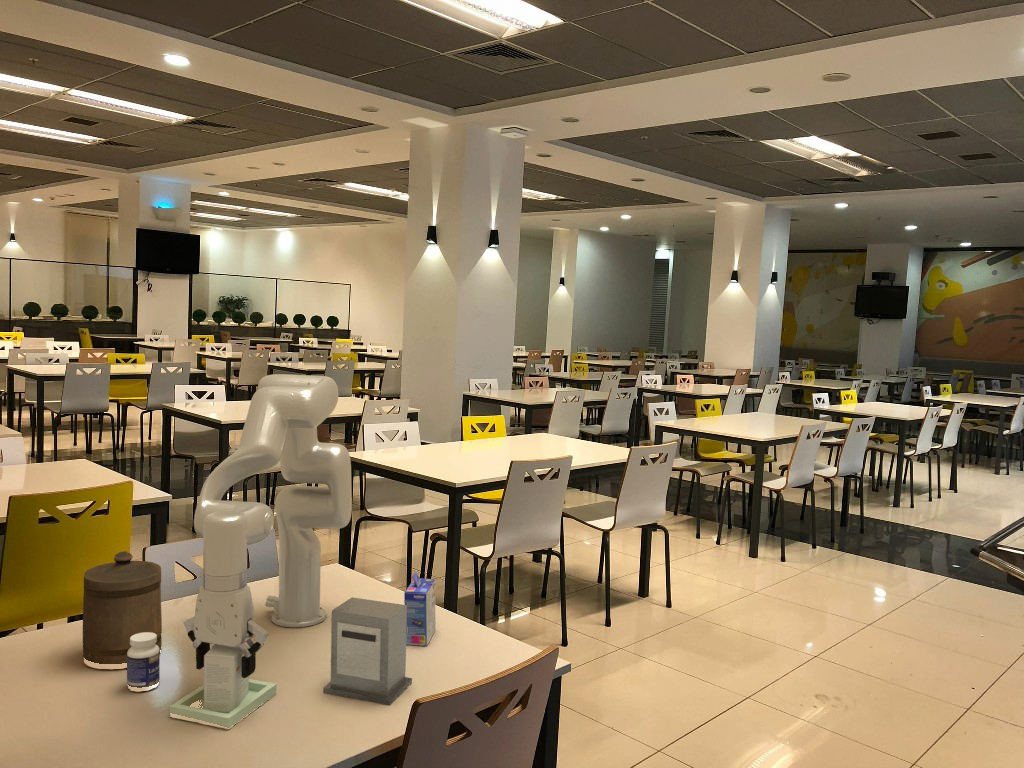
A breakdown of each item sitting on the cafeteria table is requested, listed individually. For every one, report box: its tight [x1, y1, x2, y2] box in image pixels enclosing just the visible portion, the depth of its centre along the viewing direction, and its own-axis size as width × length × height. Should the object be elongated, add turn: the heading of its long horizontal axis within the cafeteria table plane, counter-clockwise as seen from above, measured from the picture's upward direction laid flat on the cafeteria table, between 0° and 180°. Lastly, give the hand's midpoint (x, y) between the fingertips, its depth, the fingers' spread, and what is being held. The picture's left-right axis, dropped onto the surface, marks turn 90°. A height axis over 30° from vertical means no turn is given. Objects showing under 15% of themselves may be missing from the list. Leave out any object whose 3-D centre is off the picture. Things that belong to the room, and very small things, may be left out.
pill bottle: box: [126, 632, 161, 688], centre depth 158 cm, size 6×6×10 cm
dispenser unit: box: [322, 596, 413, 706], centre depth 160 cm, size 14×10×16 cm
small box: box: [203, 642, 250, 712], centre depth 151 cm, size 8×6×10 cm
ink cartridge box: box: [403, 571, 436, 647], centre depth 186 cm, size 10×6×14 cm, turn 174°
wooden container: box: [82, 550, 163, 664], centre depth 171 cm, size 15×15×22 cm
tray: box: [168, 678, 277, 728], centre depth 151 cm, size 12×14×2 cm
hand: (225, 670), depth 151 cm, fingers open, 9 cm apart
